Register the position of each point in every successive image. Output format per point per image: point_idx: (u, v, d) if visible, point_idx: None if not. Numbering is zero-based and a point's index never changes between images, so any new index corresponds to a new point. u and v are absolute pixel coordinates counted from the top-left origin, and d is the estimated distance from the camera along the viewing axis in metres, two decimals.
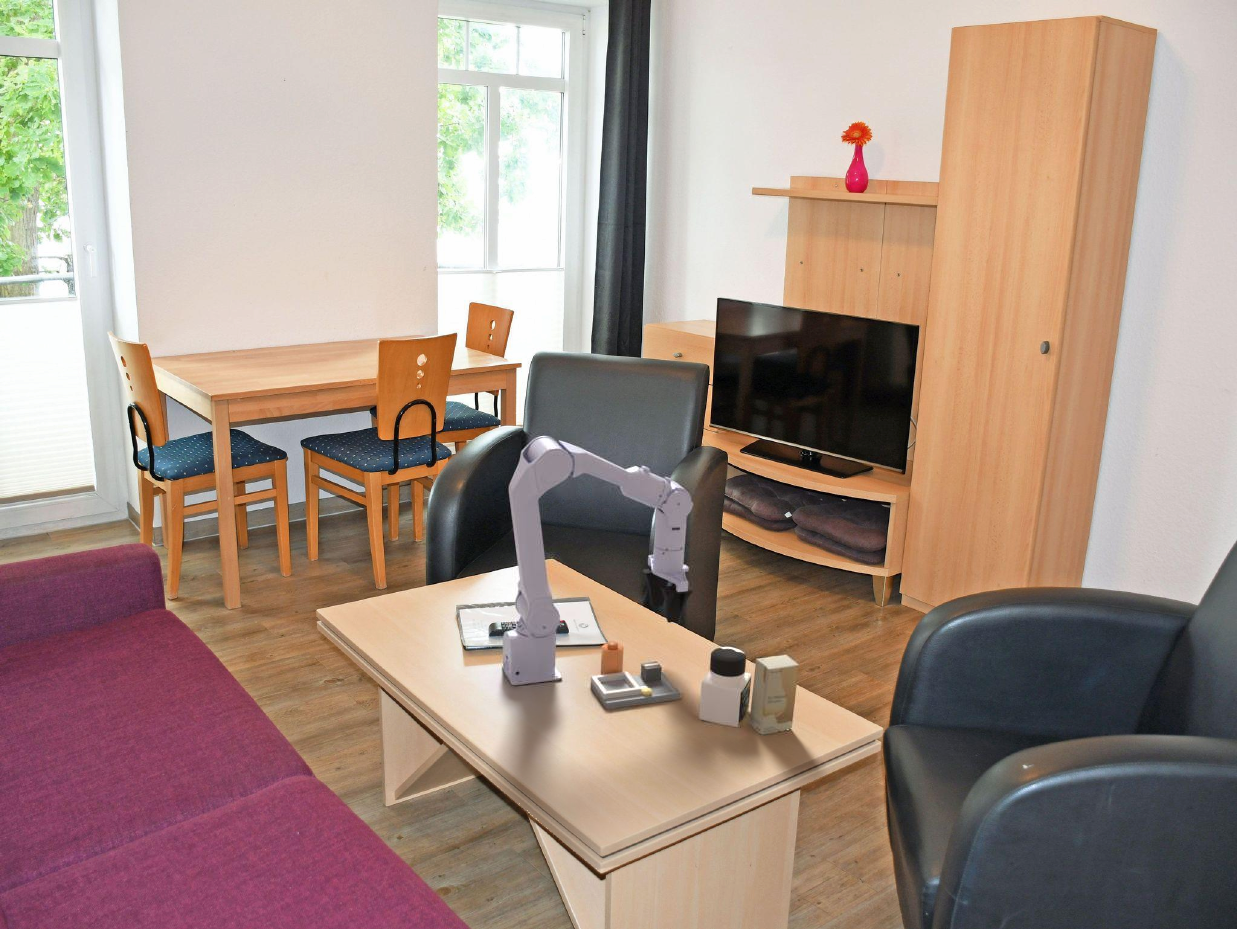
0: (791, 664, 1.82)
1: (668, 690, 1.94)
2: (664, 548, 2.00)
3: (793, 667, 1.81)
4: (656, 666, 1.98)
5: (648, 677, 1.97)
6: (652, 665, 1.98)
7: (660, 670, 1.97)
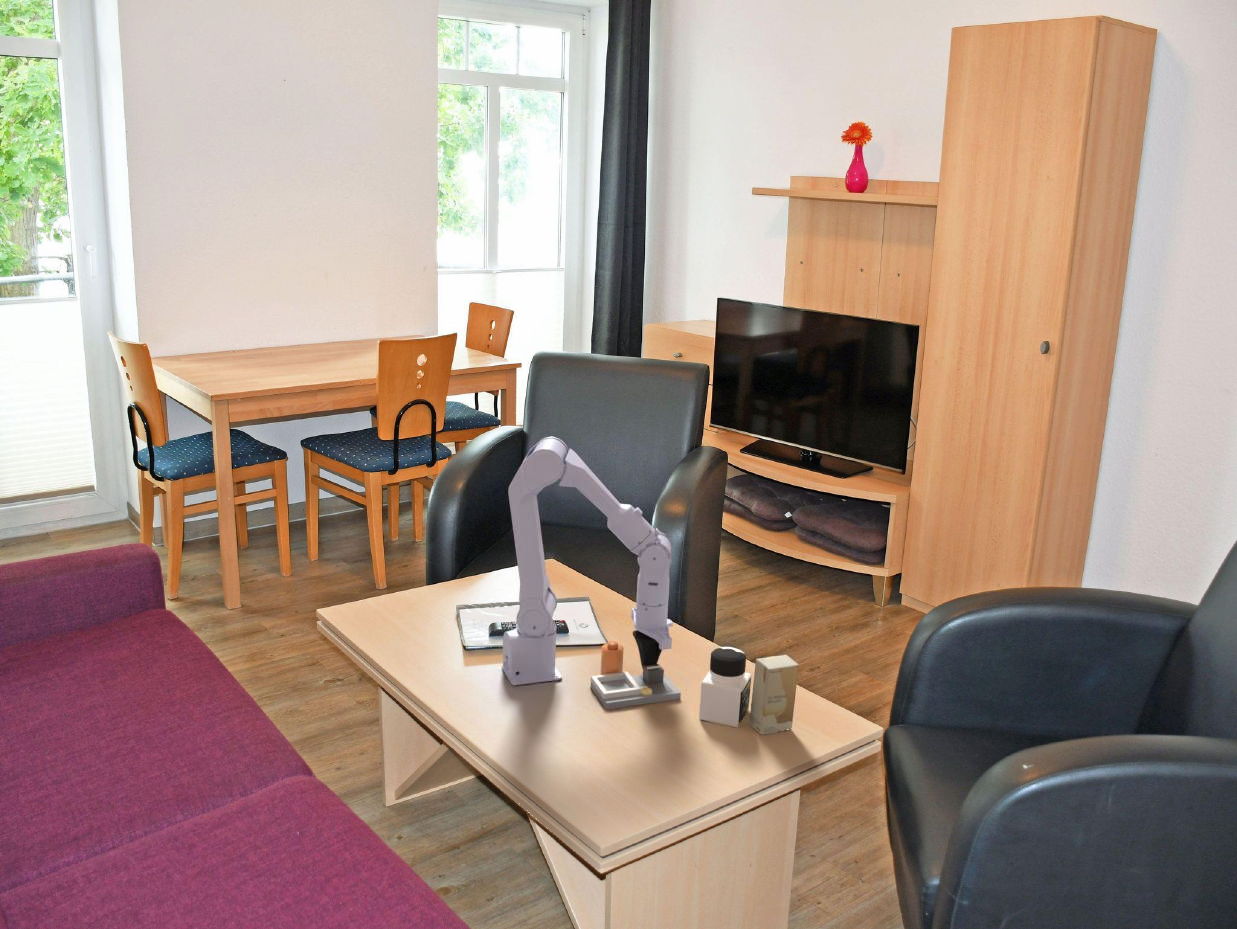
0: (791, 664, 1.82)
1: (668, 690, 1.94)
2: (642, 602, 1.94)
3: (793, 667, 1.81)
4: (658, 668, 1.97)
5: (650, 679, 1.96)
6: (654, 667, 1.97)
7: (662, 672, 1.96)
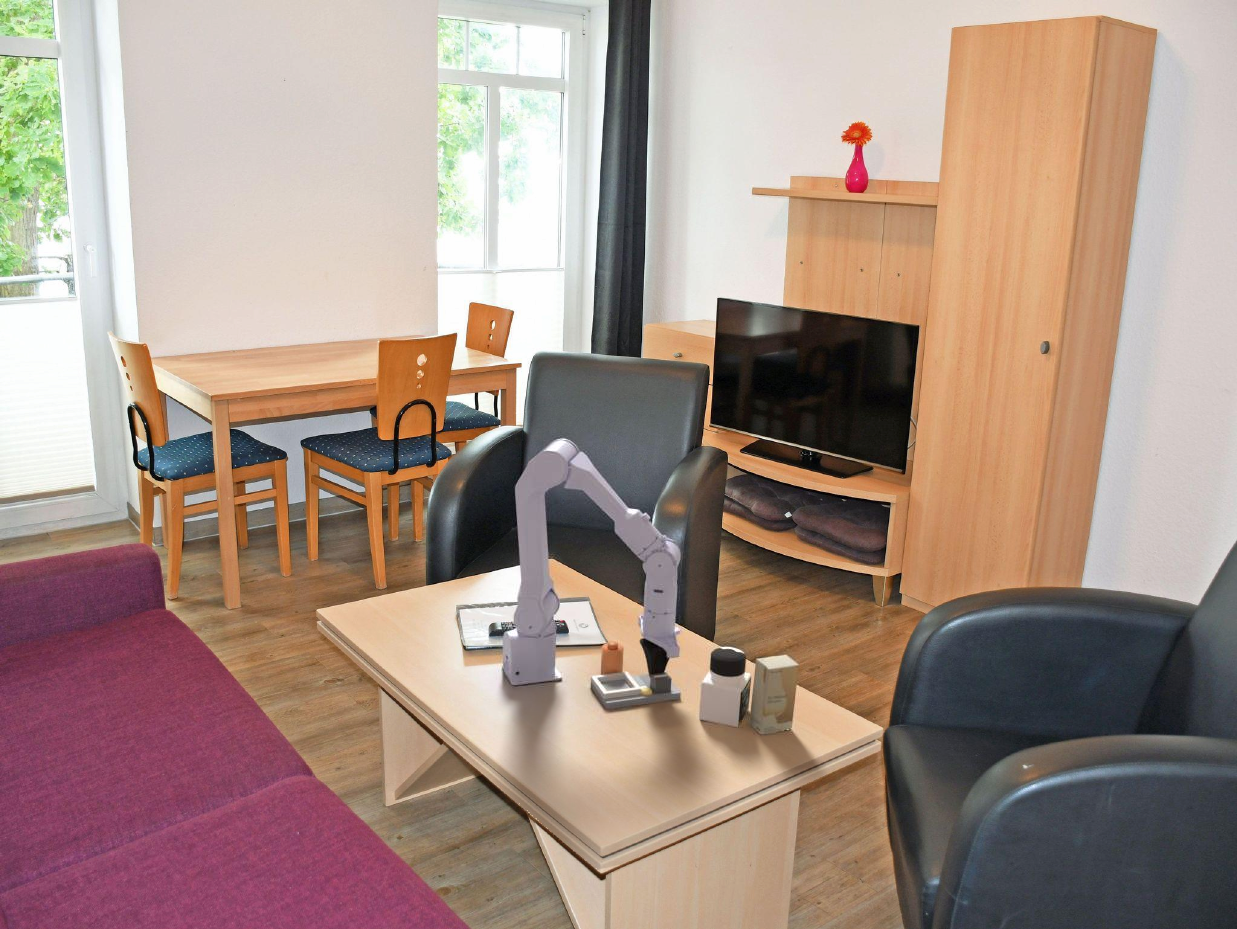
0: (791, 664, 1.82)
1: None
2: (647, 609, 1.91)
3: (793, 667, 1.81)
4: (666, 677, 1.93)
5: (657, 688, 1.93)
6: (662, 676, 1.94)
7: (670, 681, 1.93)
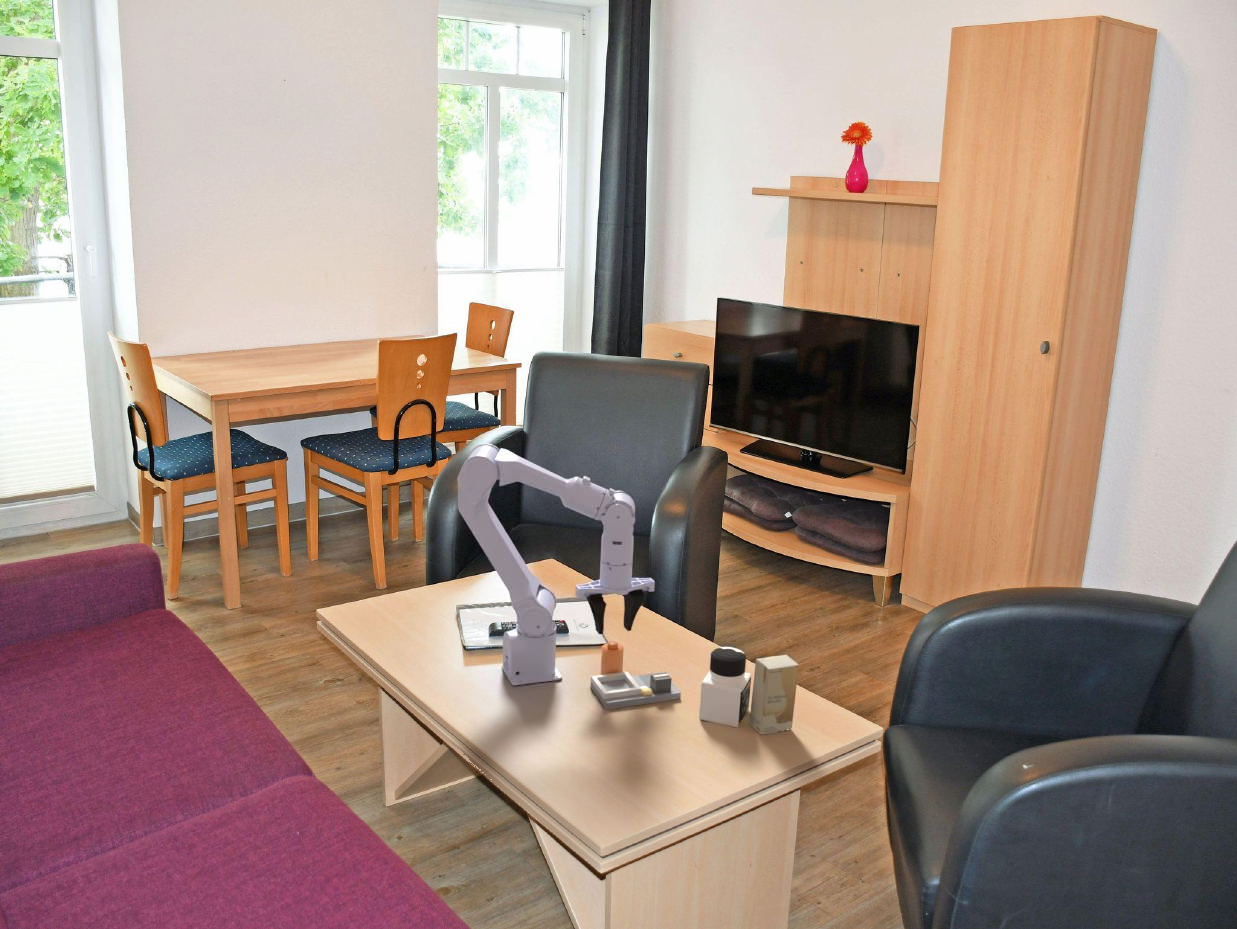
0: (791, 664, 1.82)
1: None
2: (606, 562, 1.93)
3: (793, 667, 1.81)
4: (666, 677, 1.93)
5: (657, 688, 1.93)
6: (662, 676, 1.94)
7: (670, 681, 1.93)
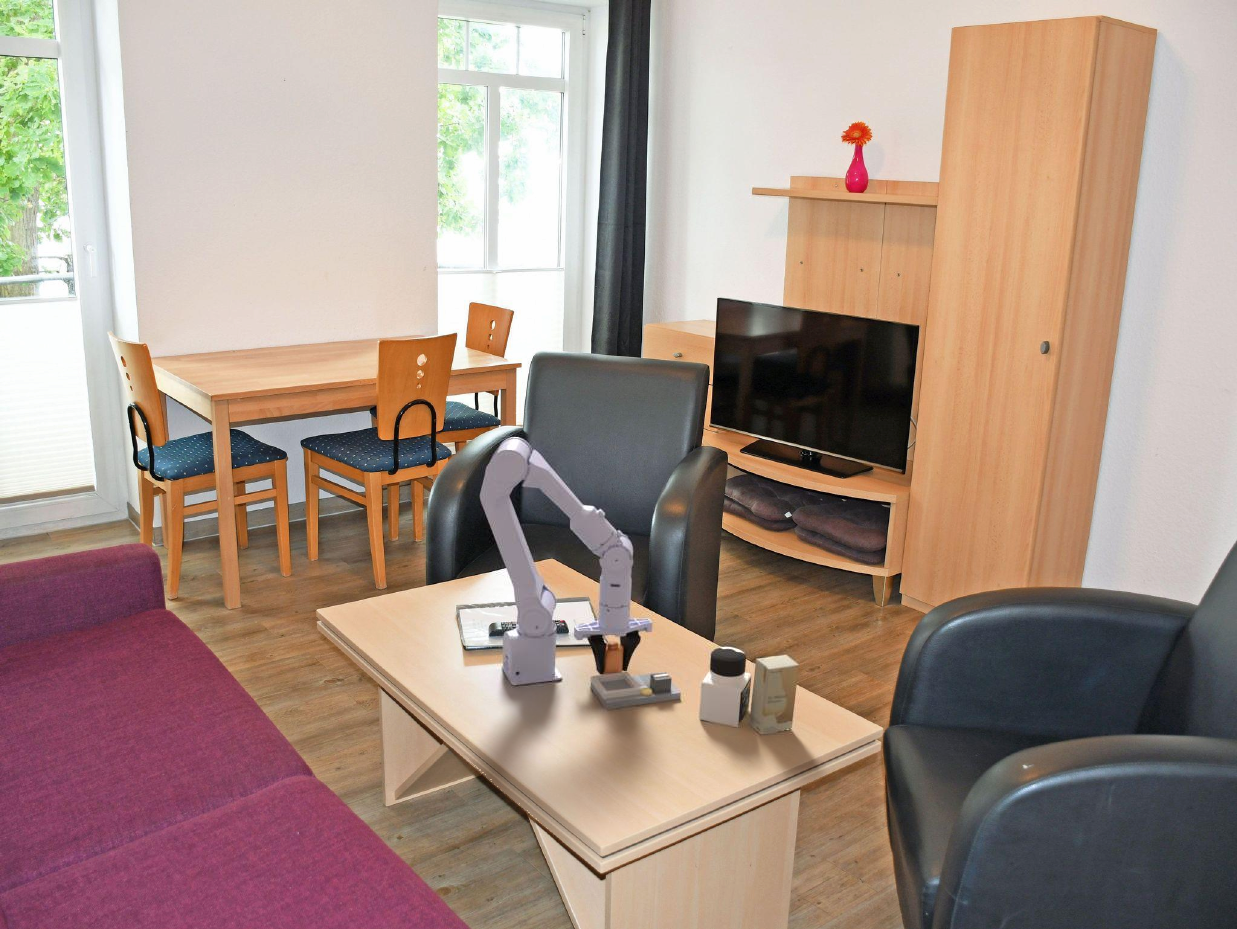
0: (791, 664, 1.82)
1: None
2: (604, 604, 1.95)
3: (793, 667, 1.81)
4: (666, 677, 1.93)
5: (657, 688, 1.93)
6: (662, 676, 1.94)
7: (670, 681, 1.93)
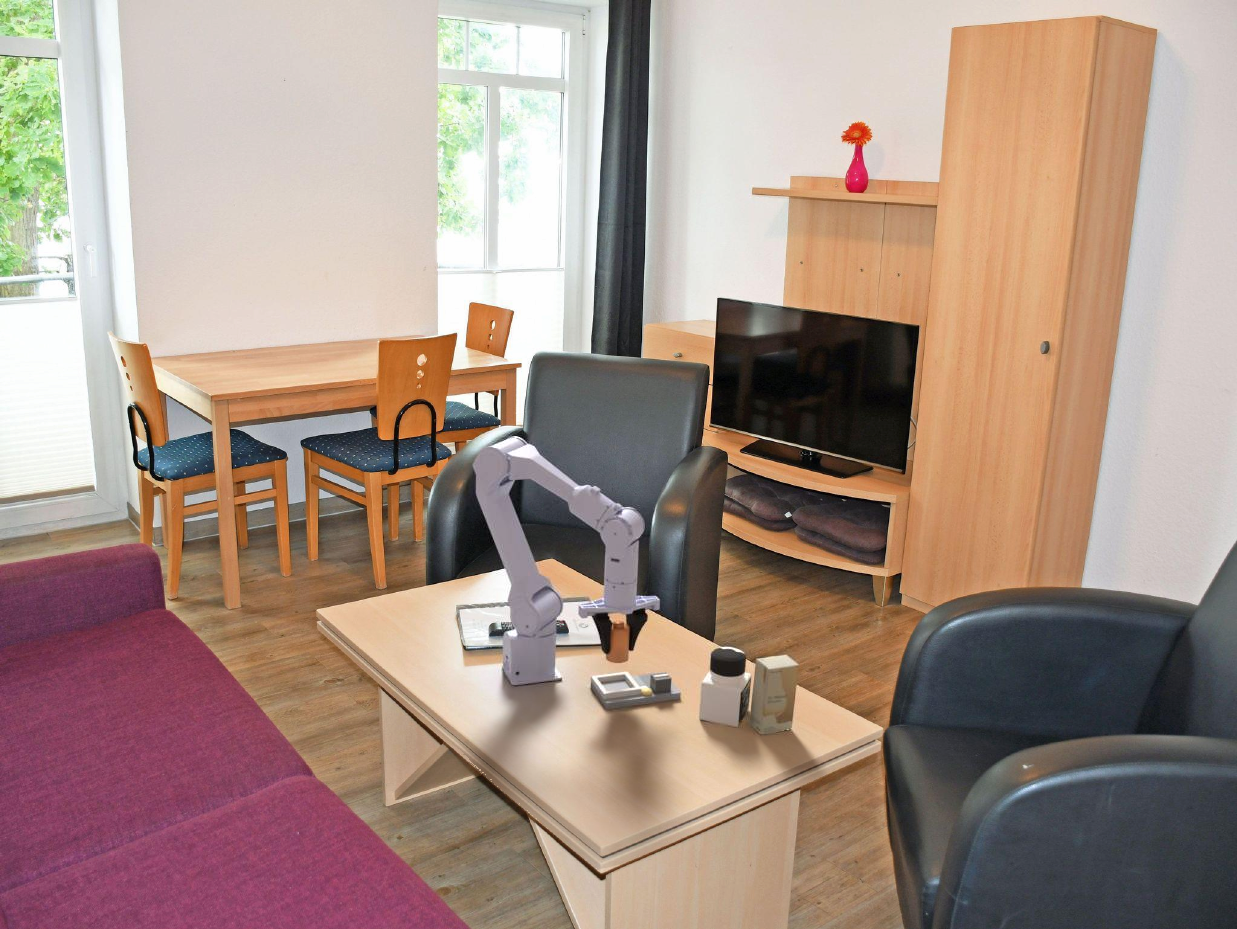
0: (791, 664, 1.82)
1: None
2: (606, 578, 1.88)
3: (793, 667, 1.81)
4: (666, 677, 1.93)
5: (657, 688, 1.93)
6: (662, 676, 1.94)
7: (670, 681, 1.93)
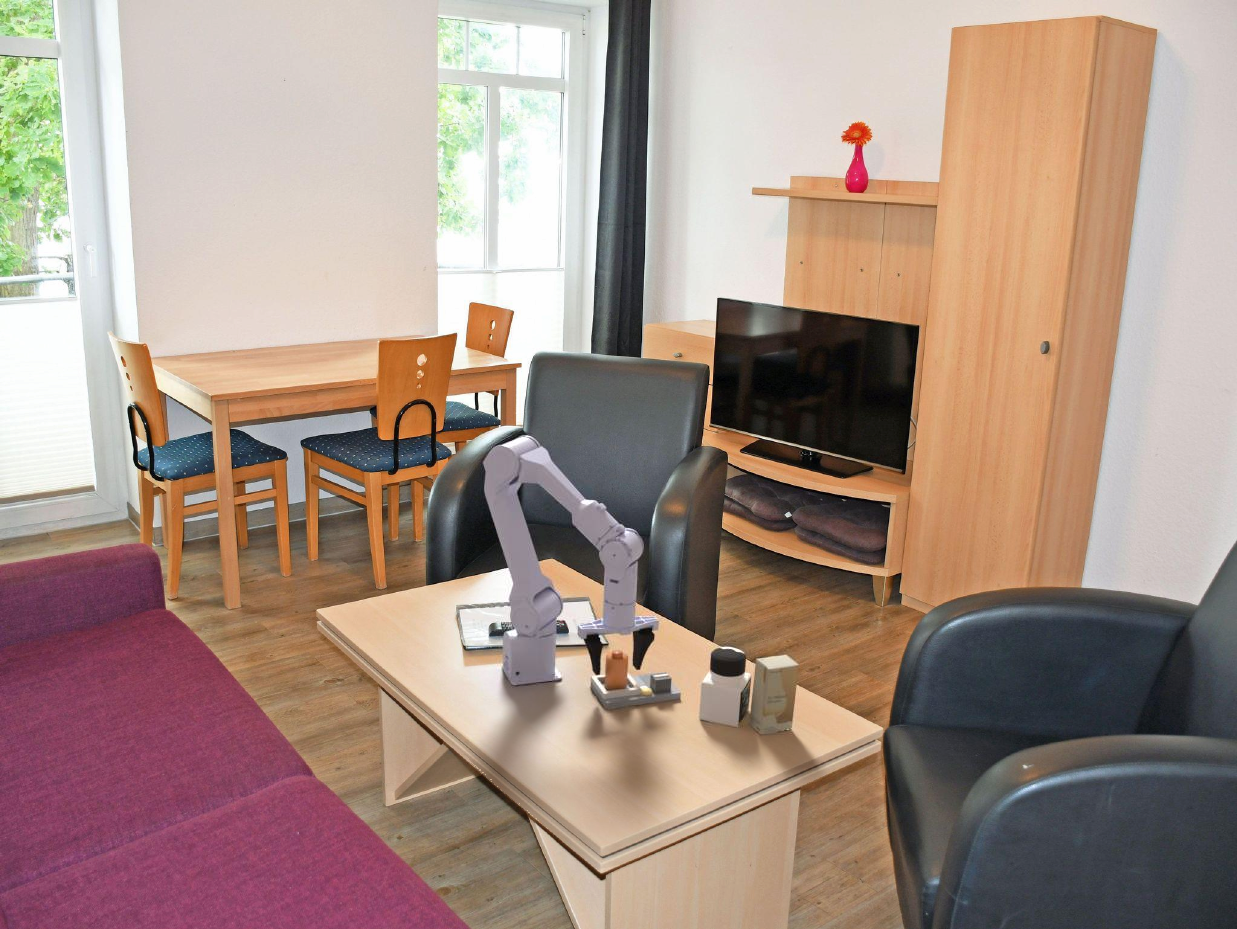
0: (791, 664, 1.82)
1: None
2: (605, 599, 1.89)
3: (793, 667, 1.81)
4: (666, 677, 1.93)
5: (657, 688, 1.93)
6: (662, 676, 1.94)
7: (670, 681, 1.93)
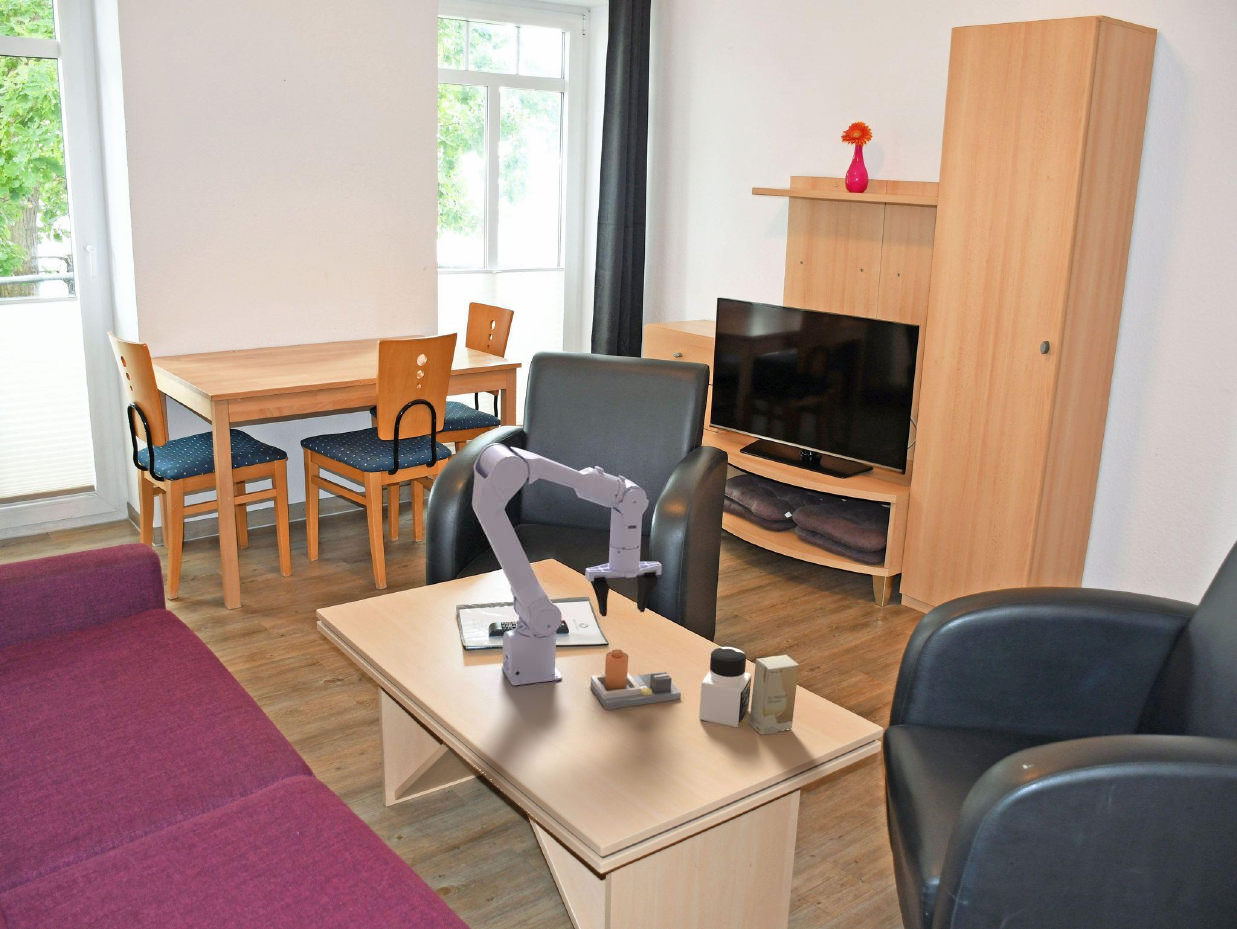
0: (791, 664, 1.82)
1: None
2: (621, 547, 1.99)
3: (793, 667, 1.81)
4: (666, 677, 1.93)
5: (657, 688, 1.93)
6: (662, 676, 1.94)
7: (670, 681, 1.93)
